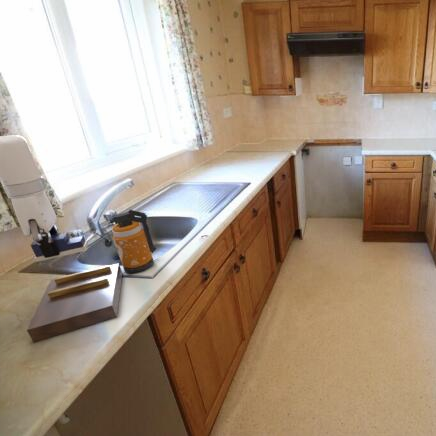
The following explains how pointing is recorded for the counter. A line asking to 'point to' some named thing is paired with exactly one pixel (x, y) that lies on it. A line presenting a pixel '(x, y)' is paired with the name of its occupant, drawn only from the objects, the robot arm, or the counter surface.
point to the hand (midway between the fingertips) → (54, 251)
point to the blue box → (62, 246)
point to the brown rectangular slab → (77, 302)
